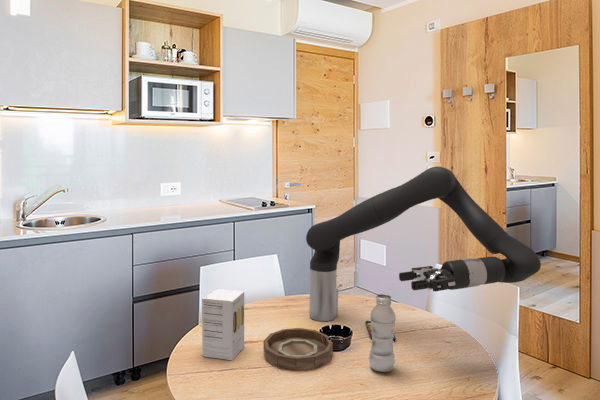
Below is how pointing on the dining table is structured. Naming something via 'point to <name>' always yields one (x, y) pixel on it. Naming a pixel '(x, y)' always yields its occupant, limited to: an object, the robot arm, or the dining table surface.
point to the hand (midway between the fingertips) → (405, 281)
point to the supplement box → (223, 324)
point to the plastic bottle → (382, 334)
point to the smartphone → (369, 328)
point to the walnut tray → (297, 349)
